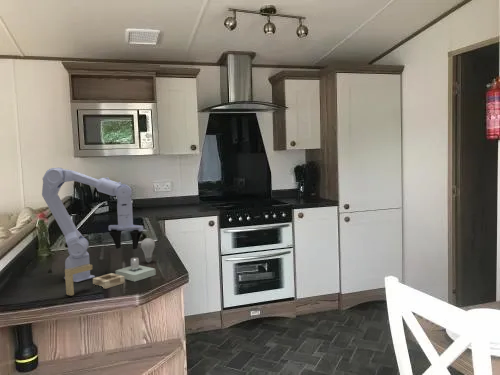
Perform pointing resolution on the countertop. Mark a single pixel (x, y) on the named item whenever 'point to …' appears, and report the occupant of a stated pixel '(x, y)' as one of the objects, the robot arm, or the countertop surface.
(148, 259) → the lightbulb
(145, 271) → the pale grey flat frame
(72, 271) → the tan l-shaped wooden piece
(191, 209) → the countertop surface
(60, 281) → the countertop surface
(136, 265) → the steel pin
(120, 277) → the socket block
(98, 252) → the countertop surface
